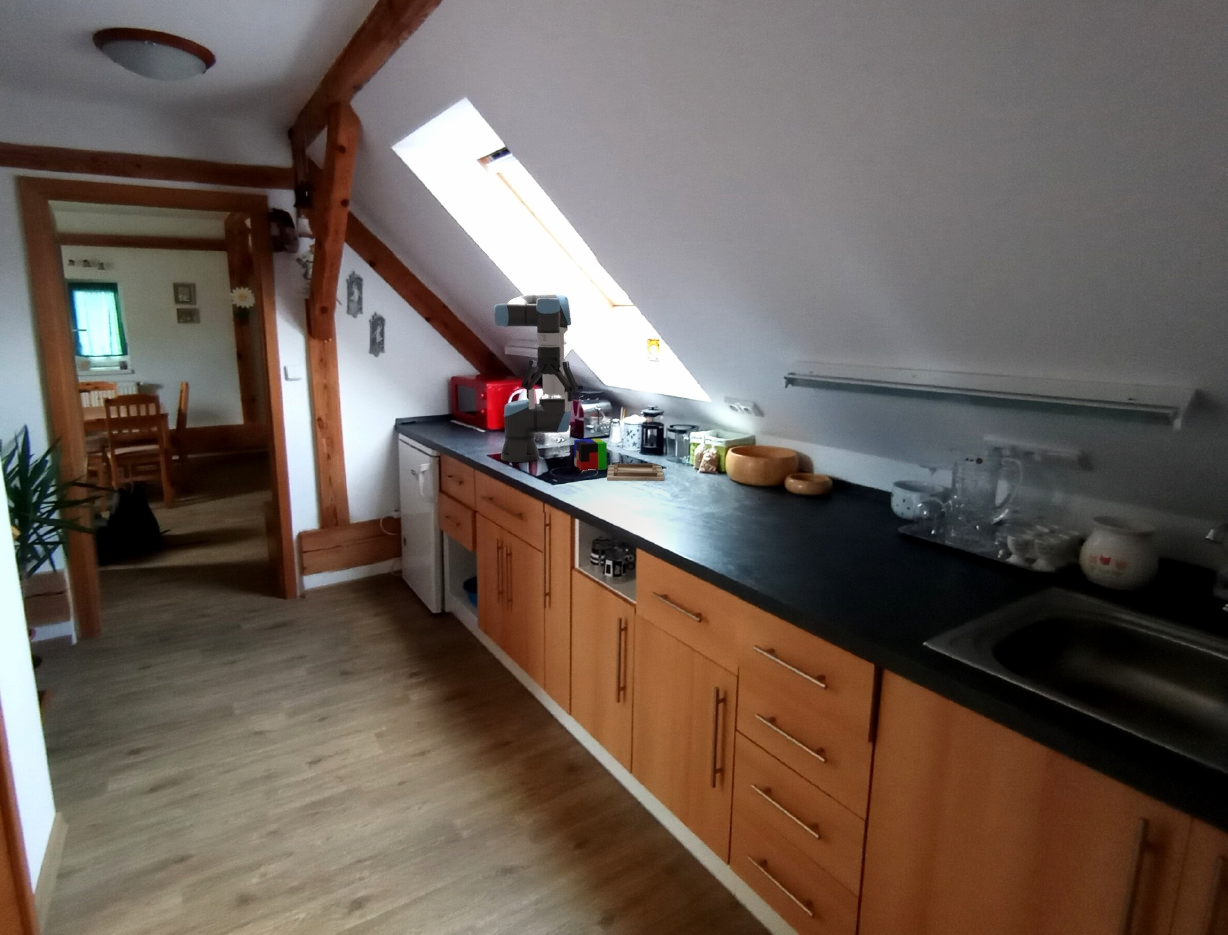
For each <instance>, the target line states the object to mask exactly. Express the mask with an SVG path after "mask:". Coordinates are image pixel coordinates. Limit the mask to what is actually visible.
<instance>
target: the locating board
mask: <svg viewBox="0 0 1228 935" xmlns="http://www.w3.org/2000/svg"><path fill="white" fill-rule="evenodd" d="M606 474H607V475H606V480H607V481H655V482H657V481H659V482H661V481H663V482H664V480H665V477H664V473H663V468H662V465H657V464H656V463H623V462H622V463H618V462H617V463H613V464H607V473H606Z"/></svg>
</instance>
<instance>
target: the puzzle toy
mask: <svg viewBox="0 0 1228 935" xmlns="http://www.w3.org/2000/svg"><path fill="white" fill-rule="evenodd" d="M573 447H574V449H573V450H574V451H573V452H574V454H573V455H574V458H573V461H574V466H575V467H576V468H577V467H578V468H579V469H578V468H577V469H578V470H579V471H581V470H584V471H589V470H588V469H599V470H608V463H607V462H608V461H607V460H608V459H607V457H608V456H607V452H608V450H607V449H608V448H607V442H606V441H603V440H602V439H601V438H588V439H587V438H584V439H583V438H581V439H573Z"/></svg>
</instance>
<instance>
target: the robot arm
mask: <svg viewBox="0 0 1228 935" xmlns="http://www.w3.org/2000/svg"><path fill="white" fill-rule="evenodd" d="M493 310H494V311H493V313H494V315H493V317H494V323H495V325H496V327H502V328H503V327H504V328H507V327H510V328H511V327H535V328H536V327H537V328H536V338H537V339H536V340H537V342H536V344H537V345H538V346H537V354H536V355H537V360H535V359H530V360H529V361H528V367H527V370H526V373H525V374H524V377H523V379H522V382H521V384H520V387H521V388H524V389H525V390H526V399H521V400H515V401H511V402H508V403H506V404H505V405H504V409H503V410H504V414H503V417H504V443H503V446H502V450H501V452H500V459H501V460H502V461H504V462H511V463H526V462H528V463H529V462H535V461H537V460H539V458H540V451H539V449H538V445H537V443H536V441H535V434H540V433H541V434H543V433H544V434H546V433H547V434H548V433H549V434H558V433H567V432H568V431H569V430H570V425H571V418H572V417H571V414H572V408H573V405H572V402H573V401H574V400H573V399H574V391H576V390H579V386H578V383H577V381H576V379H575V377H574V374H573V372H572V371H571V368H570V361H568V360H567V361H565V333H567V332H568V330H569V329H568V328H569V327H570V326H571V325H572V318H571V312H570V310H571V309H570V304H569V298H568V297H567V296H566V295H561V294H525V295H520V296H518V297H513V298H512V299H510V300H509V301H508V302H507V303H505V302H503V303H497V304H495V305H494V308H493ZM536 367H538V369H537V370H536V372H535V374H533V373H534V371H535V369H536ZM532 376H533V377H532ZM541 377H542V395H541V396H540V398H539V399H538V400H539V401H538V402H539V403H535V402H536V401H535V400H536V399H535V398H536V397H535V388H533V387H534V386H535V385H536V383H538V381H539V380H540V378H541Z"/></svg>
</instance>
